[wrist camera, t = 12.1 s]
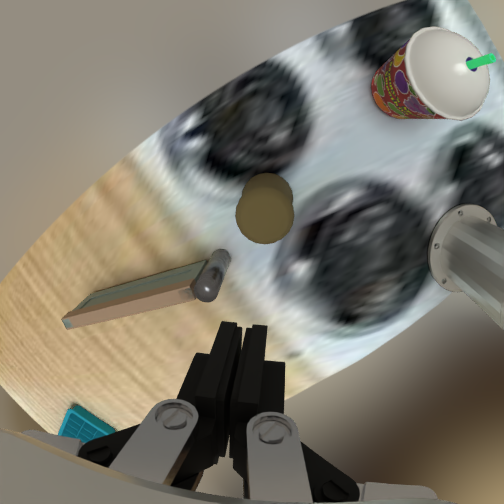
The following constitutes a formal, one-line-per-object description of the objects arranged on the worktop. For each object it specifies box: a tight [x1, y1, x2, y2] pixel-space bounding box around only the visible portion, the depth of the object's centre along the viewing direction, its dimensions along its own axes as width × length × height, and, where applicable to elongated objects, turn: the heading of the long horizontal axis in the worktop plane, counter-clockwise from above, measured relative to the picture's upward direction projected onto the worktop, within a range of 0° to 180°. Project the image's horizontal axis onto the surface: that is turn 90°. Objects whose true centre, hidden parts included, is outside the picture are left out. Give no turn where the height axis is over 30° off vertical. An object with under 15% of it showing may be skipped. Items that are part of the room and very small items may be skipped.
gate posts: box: [194, 249, 231, 302], centre depth 39 cm, size 2×24×10 cm, turn 175°
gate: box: [61, 260, 207, 330], centre depth 37 cm, size 19×2×8 cm, turn 108°
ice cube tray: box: [58, 405, 115, 443], centre depth 55 cm, size 12×20×3 cm, turn 144°
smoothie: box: [371, 26, 496, 121], centre depth 22 cm, size 8×8×20 cm
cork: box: [235, 173, 294, 244], centre depth 32 cm, size 6×6×11 cm
